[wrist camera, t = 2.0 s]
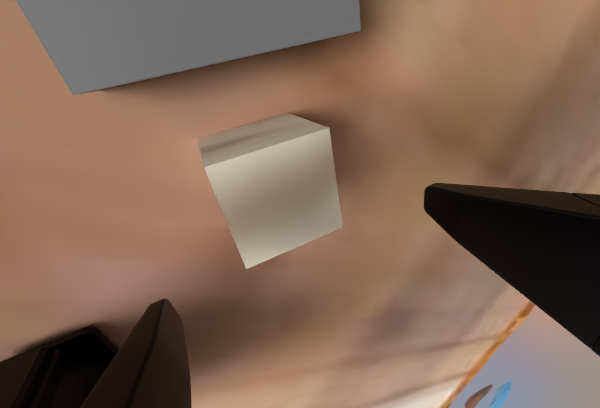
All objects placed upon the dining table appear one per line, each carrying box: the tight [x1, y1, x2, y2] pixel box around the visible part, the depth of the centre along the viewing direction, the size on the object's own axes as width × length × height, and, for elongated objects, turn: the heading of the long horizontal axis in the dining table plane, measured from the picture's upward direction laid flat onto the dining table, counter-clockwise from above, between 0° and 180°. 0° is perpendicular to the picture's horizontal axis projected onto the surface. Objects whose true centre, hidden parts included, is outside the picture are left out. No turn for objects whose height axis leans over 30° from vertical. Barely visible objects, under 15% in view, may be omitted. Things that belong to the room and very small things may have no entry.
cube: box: [198, 113, 343, 269], centre depth 13 cm, size 5×5×5 cm
